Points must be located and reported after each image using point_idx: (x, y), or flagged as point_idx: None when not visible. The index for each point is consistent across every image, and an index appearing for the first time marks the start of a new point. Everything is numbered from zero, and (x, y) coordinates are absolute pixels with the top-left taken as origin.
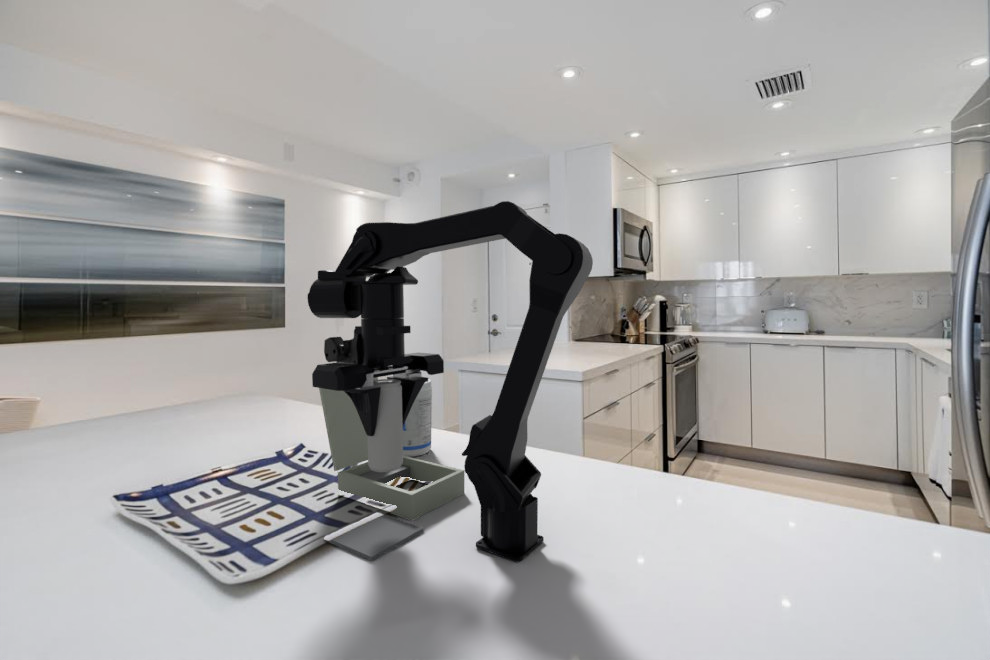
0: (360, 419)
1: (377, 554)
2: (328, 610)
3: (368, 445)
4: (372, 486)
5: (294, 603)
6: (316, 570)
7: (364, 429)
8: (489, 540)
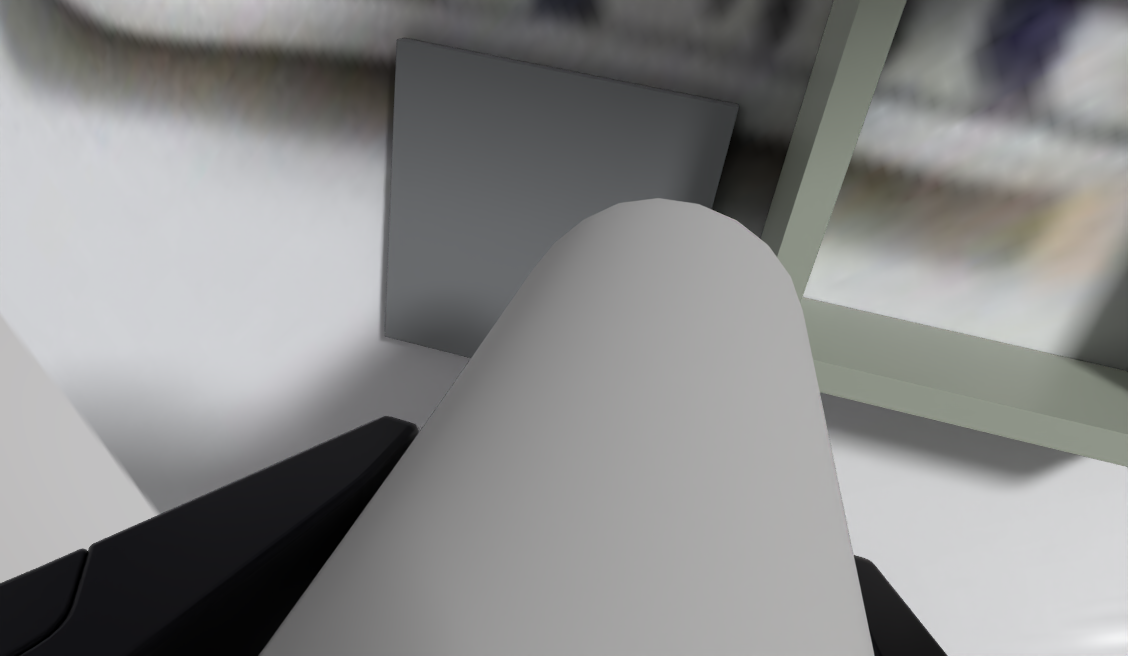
0: (215, 491)
1: (411, 342)
2: (164, 355)
3: (492, 330)
4: (849, 15)
5: (119, 252)
6: (249, 187)
7: (334, 440)
8: None
